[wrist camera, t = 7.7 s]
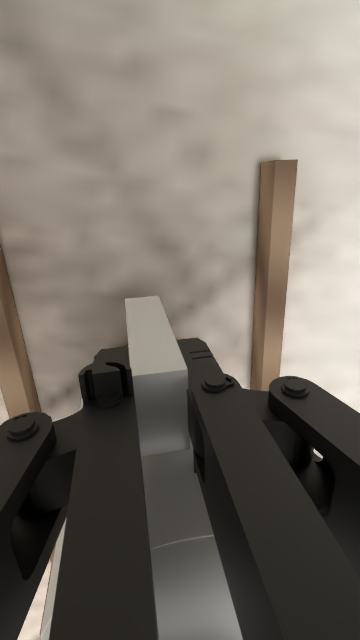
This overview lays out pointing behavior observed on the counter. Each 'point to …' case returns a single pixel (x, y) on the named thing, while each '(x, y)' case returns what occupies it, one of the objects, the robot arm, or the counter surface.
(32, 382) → the guide channel
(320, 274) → the counter surface
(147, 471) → the pill bottle
